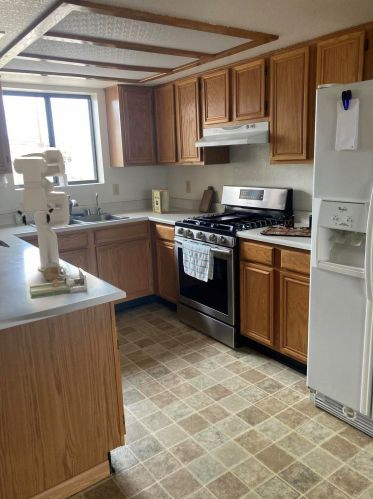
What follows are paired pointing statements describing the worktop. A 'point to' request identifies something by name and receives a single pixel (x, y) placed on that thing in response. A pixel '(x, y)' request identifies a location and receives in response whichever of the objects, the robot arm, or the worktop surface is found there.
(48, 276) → the ceramic mug
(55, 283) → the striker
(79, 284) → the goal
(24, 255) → the worktop surface
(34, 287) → the field
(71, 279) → the ball
